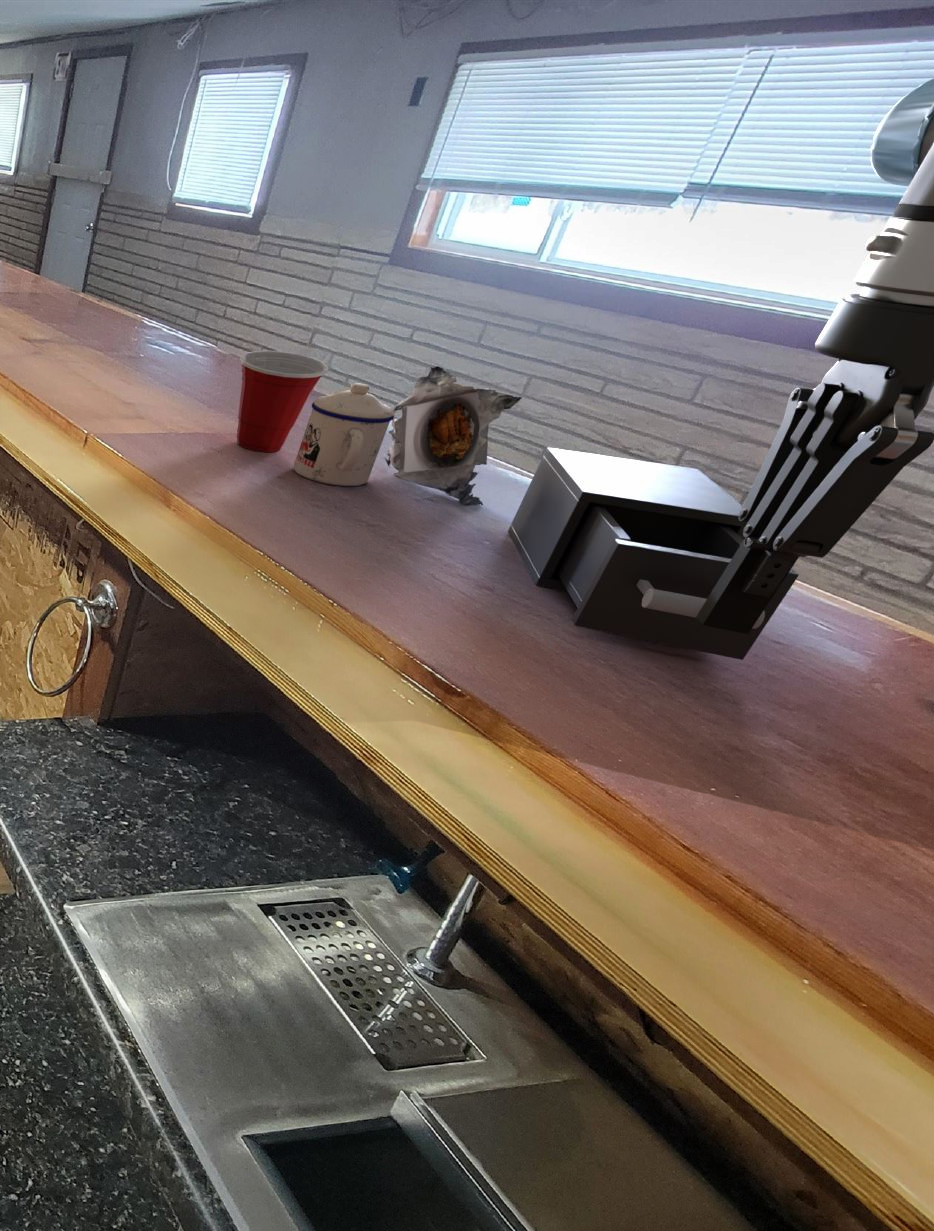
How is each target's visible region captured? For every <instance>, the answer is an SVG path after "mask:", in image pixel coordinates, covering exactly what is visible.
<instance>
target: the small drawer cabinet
mask: <svg viewBox="0 0 934 1231" xmlns="http://www.w3.org/2000/svg"><path fill="white" fill-rule="evenodd" d="M589 502H591V503H597V504H604V505H610V506H616V507H622V508H628V509H635V510H641V511H647V512H653V513H660V514H666V515H672V516H678V517H684V518H691V519H697V520H703V521H709V522H715V523H722V524H727V525H728V526H729V527H730V528H731V529H732V530H734V531H735V532H736V533H737V534H738V535H739V536H740V537H741V538H743V539H744V540H745V538H746V537H744V536H743V531H744V528H745V526H746V525H747V523H748V522H742V521H739V519H738V516H739V513H740V511H741V509H742V507H743V505H744V504H742V503H740V502H739V501H738V500H736V499H735V498H734V497H733V496H731V495H730V494H729V493H728V492H727V491H725V490H724V489H723V488H722V487H721V486H719V485H718V484H717V483H716V482H715V481H713V480H712V479H711V478H709V476H708V475H706V474H705V473H703V472H702V471H701V470H700V469H698V468H694V467H686V466H679V465H672V464H665V463H659V462H651V461H644V460H638V459H637V460H636V459H631V458H623V457H618V456H609V455H603V454H596V453H589V452H581V451H576V450H570V449H569V450H568V449H562V448H555V447H549V446H547V447H546V449H545V451H544V453H543V456H542V457H541V460H540V462H539V464H538V466H537V468H536V471H535V473H534V475H533V477H532V479H531V481H530V482H529V486H528V487H527V489H526V491H525V494H524V496H523V498H522V500H521V502H520V505H519V506H518V509H517V511H516V513H515V514H514V517H513V519H512V522H511V524H510V526H509V527H508V530H507V534H508V536H509V537H510V539H511V541H512V544H514V547H515V549H516V550H517V552H518V554H519V556H520V558H521V560H522V562H523V564H524V566H525V567H526V569H527V572H528V573H529V575H530V577H531V578H532V580H533V583H534V584H535V586H537V587H543V588H547V589H553V590H558V591H563V592H568V591H567V589H566V587H565V586H564V584H563V582H562V581H561V579H560V577H559V576H558V574H557V572H556V571H555V570H556V568H557V566H558V564H559V562H560V560H561V558H562V556H563V554H564V552H565V550H566V548H567V546H568V544H569V542H570V540H571V538H572V536H573V534H574V532H575V530H576V528H577V526H578V524H579V523H580V521H581V519H582V517H583V515H584V513H585V511H586V509H587V507H588V505H589Z"/></svg>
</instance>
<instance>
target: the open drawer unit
mask: <svg viewBox="0 0 934 1231" xmlns="http://www.w3.org/2000/svg"><path fill="white" fill-rule="evenodd" d="M743 540H744V539H743V538H741V537H740V536H739V535H738V534H737V533H736V532H735V531H734V530H732V529H731V528H730V527H729V526H728V525H727V524H722V523H715V522H709V521H703V520H697V519H691V518H684V517H678V516H672V515H666V514H660V513H653V512H647V511H641V510H635V509H628V508H622V507H616V506H610V505H604V504H597V503H591V502H589V505H588V507H587V509H586V511H585V513H584V515H583V517H582V519H581V521H580V523H579V524H578V526H577V528H576V530H575V532H574V534H573V536H572V538H571V540H570V542H569V544H568V546H567V548H566V550H565V552H564V554H563V556H562V558H561V560H560V562H559V564H558V566H557V568H556V570H555V571H556V572H557V574H558V576H559V577H560V579H561V581H562V582H563V584H564V586H565V587H566V589H567V591H566V592H567V593H568V595H570V597H571V599H572V601H573V602H574V604H575V606H576V611H575V612H574V614H573V616H572V618H571V622H572V624H573V625H574V626H575V627H579V628H584V629H589V630H593V631H599V632H604V633H609V634H614V635H619V636H623V637H628V638H633V639H639V640H643V641H648V642H653V643H657V644H663V645H668V646H673V647H678V648H682V649H687V650H692V651H696V652H697V651H698V652H702V653H707V654H712V655H717V656H722V657H727V658H732V659H736V660H741V661H743V660H744V659H745V657H746V656H747V654H748V653H749V651H750V650H751V649H752V647H753V646H754V644H755V642H756V641H757V639H758V638H759V636H760V635H761V633H762V632H763V630H764V628H765V627H766V626H767V624H768V623H769V621H770V620H771V618H772V617H773V615H774V614H775V612H776V611H777V609H778V607H779V606H780V604H781V603H782V602H783V600H784V599H785V597H786V596H787V594H788V592H789V590H790V589H791V588H792V586H793V585H794V583H795V582H796V580H797V579H798V578H799V575H800V574H799V573H798V572H797V571H795V570H794V569H793V568H791V570H790V571H789V573H788V575H787V576H786V578H785V579H784V581H783V582H782V584H781V585H780V587H779V588H778V590H777V591H776V593H775V594H774V596H773V597H772V599H771V600H770V602H769V603H768V605H767V606H766V608H765V609H764V611H763V612H762V614H761V615H760V617H759V618H758V620H757V621H756V623H755V625H754V626H753V628H752V629H751V631H750V632H749V634H744V633H739V632H734V631H729V630H724V629H719V628H714V627H709V626H704V625H702V624H701V623H700V622H699V620H698V619H697V618H696V616H697V615H698V613H699V611H700V610H701V608H702V606H703V605H704V603H705V602H706V600H707V598H708V597H709V595H710V594H711V592H712V590H713V589H714V587H715V585H716V584H717V582H718V581H719V579H720V577H721V576H722V574H723V573H724V571H725V569H726V568H727V566H728V565H729V563H730V561H731V560H732V558H733V556H734V555H735V553H736V552H737V550H738V548H739V547H740V545H741V544H742V542H743ZM630 541H631V542H630ZM636 542H637V543H636ZM642 543H643V544H642ZM648 544H649V545H648ZM654 545H655V546H654ZM659 546H661V547H659ZM665 547H666V548H665ZM671 548H672V549H671ZM677 549H678V550H677ZM683 550H684V551H683ZM688 551H689V552H688Z"/></svg>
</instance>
